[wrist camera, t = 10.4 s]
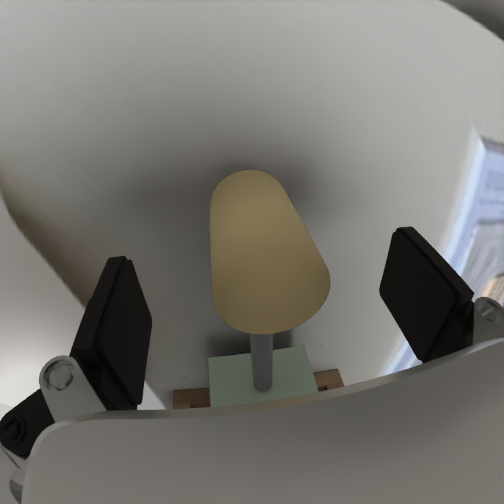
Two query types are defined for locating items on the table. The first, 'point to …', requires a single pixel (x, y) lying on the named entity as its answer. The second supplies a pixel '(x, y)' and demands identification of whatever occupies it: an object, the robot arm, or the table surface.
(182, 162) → the table surface
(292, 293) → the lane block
